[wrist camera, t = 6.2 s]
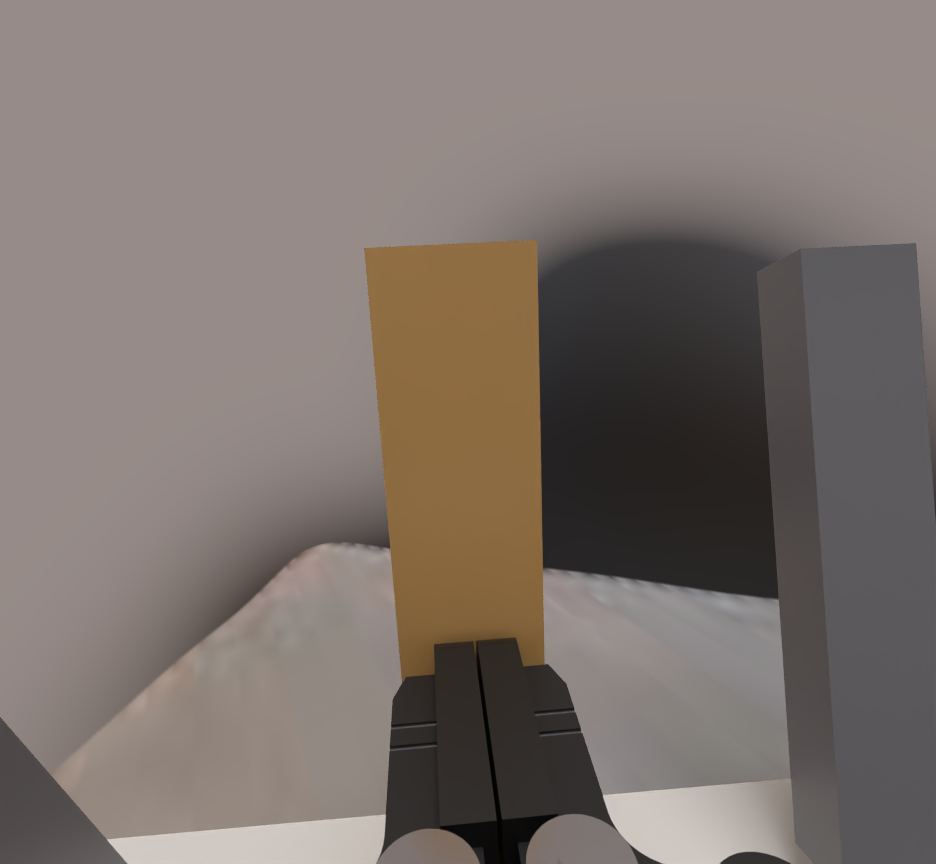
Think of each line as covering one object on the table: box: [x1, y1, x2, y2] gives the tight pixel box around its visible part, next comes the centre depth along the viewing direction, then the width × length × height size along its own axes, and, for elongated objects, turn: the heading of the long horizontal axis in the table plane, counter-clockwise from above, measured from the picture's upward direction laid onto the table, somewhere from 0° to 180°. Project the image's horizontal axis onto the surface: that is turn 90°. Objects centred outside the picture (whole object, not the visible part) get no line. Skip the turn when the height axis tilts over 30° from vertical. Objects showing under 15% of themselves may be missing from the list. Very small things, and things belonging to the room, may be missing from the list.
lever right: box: [757, 243, 936, 864], centre depth 14 cm, size 3×2×15 cm
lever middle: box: [364, 240, 544, 683], centre depth 12 cm, size 3×2×15 cm
